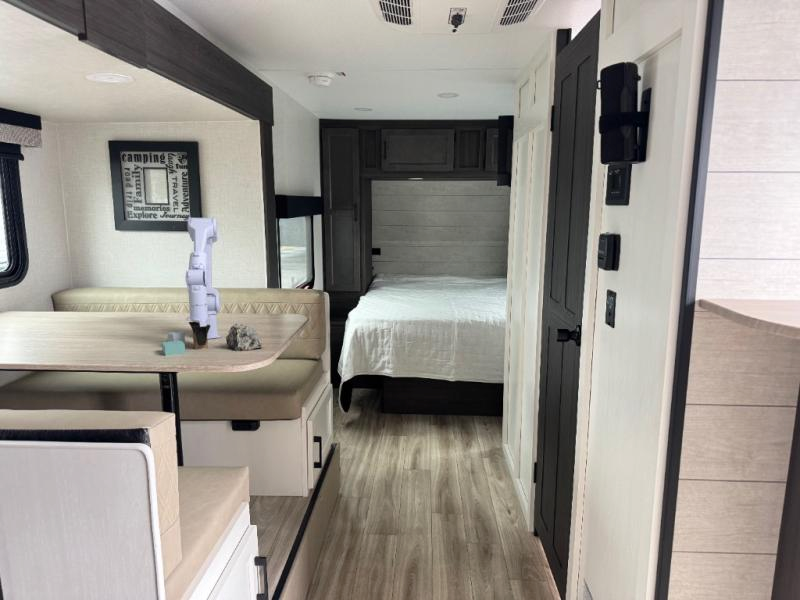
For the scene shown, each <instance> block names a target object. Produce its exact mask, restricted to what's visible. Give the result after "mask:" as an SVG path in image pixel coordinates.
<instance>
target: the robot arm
mask: <svg viewBox="0 0 800 600" xmlns="http://www.w3.org/2000/svg"><path fill="white" fill-rule="evenodd" d="M187 231H188V234H189V238H190V240H191V241H192V242H193V251H191V253H189V261H188V262H189V263H188V270H186V272H185V284H186V289H187V290H186V291H187V292H188V305H189V306H188V307H189V316H188V317H185V319H186V321H187V322H188V321H189V322H188V324H189V326H190V327H191V331H192V334H193V333H196V337H197V341H198V345H199V346H202V345H205V344H206V339H207V338H208V340H209V339H219V338H221V335H220V334H219V333H218V316H217V314H218V313H219V312H220V311H221V306H222V305H221V295H220V291H218V290H217V289H216V288H214V287H213V284H212V283H213V278H212V276H213V273H212V271H213V268H212V265H213V264H212V263H213V262H212V260H213V259H212V255H213V254H212V253H213V252H212V251H213V250H212V249H213V244H214V243H215V242H218V238H219V226H218V219H217V218H216V217H214V216H213V217H191V216H190V217H189V218H188V219H187Z"/></svg>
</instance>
